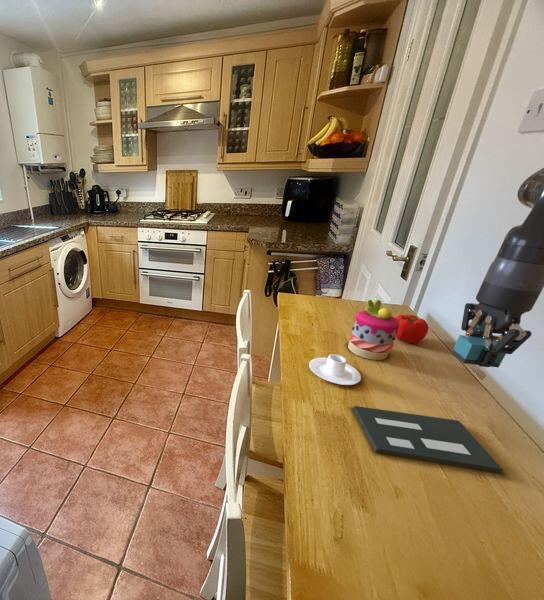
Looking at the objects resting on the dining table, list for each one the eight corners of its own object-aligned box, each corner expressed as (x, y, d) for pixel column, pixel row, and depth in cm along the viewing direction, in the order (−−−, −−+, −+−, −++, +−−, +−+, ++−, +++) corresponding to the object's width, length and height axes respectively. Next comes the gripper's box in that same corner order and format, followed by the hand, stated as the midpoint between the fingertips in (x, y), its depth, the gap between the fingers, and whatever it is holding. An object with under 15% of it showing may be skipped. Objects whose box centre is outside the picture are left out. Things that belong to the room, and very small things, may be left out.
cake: (396, 355, 92) (414, 308, 86) (374, 364, 88) (391, 315, 82) (360, 338, 100) (374, 294, 95) (338, 346, 96) (351, 300, 90)
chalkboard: (456, 424, 68) (458, 420, 67) (500, 473, 57) (503, 469, 56) (352, 409, 72) (353, 405, 71) (375, 452, 61) (376, 448, 61)
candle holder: (355, 393, 76) (360, 379, 75) (302, 374, 84) (306, 360, 82) (363, 371, 85) (368, 357, 83) (315, 354, 92) (318, 342, 90)
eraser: (484, 357, 67) (493, 338, 66) (498, 367, 64) (509, 348, 62) (451, 353, 69) (459, 334, 67) (463, 363, 65) (472, 344, 63)
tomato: (400, 330, 105) (407, 310, 102) (429, 343, 98) (438, 322, 95) (379, 334, 103) (386, 314, 100) (408, 348, 95) (416, 326, 92)
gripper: (574, 298, 52) (525, 383, 59) (507, 272, 65) (473, 344, 72) (518, 294, 54) (476, 377, 61) (464, 269, 67) (434, 340, 73)
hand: (474, 359), depth 66 cm, fingers closed on eraser, 4 cm apart
